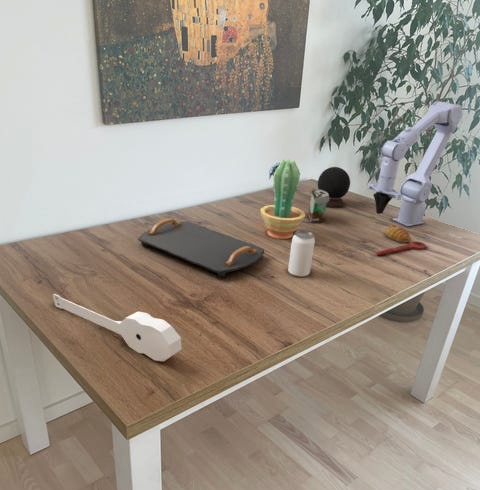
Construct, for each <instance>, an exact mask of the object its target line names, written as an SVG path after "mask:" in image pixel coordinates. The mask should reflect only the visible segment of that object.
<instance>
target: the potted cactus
mask: <svg viewBox="0 0 480 490" xmlns="http://www.w3.org/2000/svg"><path fill="white" fill-rule="evenodd" d="M272 176H273V178H272ZM300 177H301V172H300V169H299V167H298V165H297V163H296V162H295V160H290V159H287V160H286V159H282V161H277V162H275V163H274V164H272V166H271V167H270V168H269V171H268V180H271V178H272V179H273V180H272V188H273V193H274V201H273V204H270V205H264V206H263V207H261V208H260V214H261V215H260V216H261V218H263V220H264V225H265V227H266V229H267V235H268V236H269V237H271V238H274V239H279V240H286V239H291V238H293V236H294V233H295V232H296V230H297V229H298V228H299V226H300V224H301V223H302V221H304V220H305V217H306V214H305V211H304V210H302V209H300V208H297V207H295V206H293V203H294V199H295V195H296V192H297V191H298V187H299V183H300Z"/></svg>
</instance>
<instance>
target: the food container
mask: <svg viewBox="0 0 480 490" xmlns="http://www.w3.org/2000/svg"><path fill="white" fill-rule="evenodd" d="M328 201H329V194H328V193H327V192H325V191H323V190H319V189H318V188H313V187H312V188H311V192H310V200H309V208H308V217H309V221H310V223H312V224H316V223H317V224H318V223H322V222H323V220H324V216H325V212H326V208H327V207H326V204H327V202H328Z"/></svg>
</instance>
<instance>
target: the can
mask: <svg viewBox="0 0 480 490" xmlns="http://www.w3.org/2000/svg"><path fill="white" fill-rule="evenodd" d="M291 238H292V239H291V246H290V252H289V259H288V266H287V271H288V273H289V274H290V275H292V276H293V277H300V278H303V277H307V276H309V275H310V274H311V268H312V262H313V256H314V249H315V243H316V240H315V234H314V233H313V232H311V231H308V230H297V231H296V230H295V231H294V232H293V236H292V237H291Z"/></svg>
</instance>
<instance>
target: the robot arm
mask: <svg viewBox="0 0 480 490" xmlns="http://www.w3.org/2000/svg"><path fill="white" fill-rule="evenodd" d="M462 117H463V108H462V105H460V104H454V103H449V102H445V101H442V100H436V101H434V102H433V103H432V104H430V105H429V107H428V110H427V113H425V114H424V115H423V116H422V117H421V118H420V119H419V120H418V121H417V122H416V124H414V125H413V126H408V127H405V128H404V129H403V131H402V132H400V133H399V134H398V135H397V136H396V137H394V138H393V139H392V140H388V141H385V142H384V143H383V144H382V147H381V148H380V156H381V158H380V159H381V166H380V170H379V176H378V179H377V183H373V182H368V184H367V190H372V191H374V193H373V199H374V202H375V213H376V214H377V215H381V214H383V213H384V211H385V209H386V208H387V205H388V204H389V203H390V201H392V199H394V200H396V201H401V204H400V207H399V211H398V216H397V217H394V218H392V221H394V222H397V223H399V224H401V225H403V226H405V227H413V226H417V225H422V224H424V221H423V220H424V216H425V213H426V208H427V203H426V201H427V199H428V198H429V196H430V192H431V189H432V187H433V183H432V181H431V179H430V177H431V175H432V174H433V172H434V169H436V165H437V164H438V162H439V160H440V158H441V156H442V154H443V152H444V151H445V148H446V147H447V145H448V143H449V141H450V139H451V137H452V135H453V133H454V132H455V131H456V129H457V127H458V125H459V123H460V121H461V119H462ZM432 126H433V127H434V128H435V130H436V132H435V133H434V136H433V138H432V139H431V142H430V144H429V145H428V147H427V149H426V151H425V153H424V155H423V157H422V159H421V161H420V163H419V165H418V166H417V168H416V171H415V172H413V173H411V174H408V175H407V177H406V178H405V180H404V181H403V182H402V183H401V185H400V187H399V191H397V190H395V189H394V187H395V183H396V178H397V174H398V171H399V170H398V169H399V165H400V161H401V160H402V159H404V157H405V156H406V153H407V152H408V150H409V149H410V147H412V146H413V145H414V144H415V143H416V142H417V141H419V139H420V135H421V134H422V133H424V132H425V131H427V130H428V129H429V128H431V127H432Z"/></svg>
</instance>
